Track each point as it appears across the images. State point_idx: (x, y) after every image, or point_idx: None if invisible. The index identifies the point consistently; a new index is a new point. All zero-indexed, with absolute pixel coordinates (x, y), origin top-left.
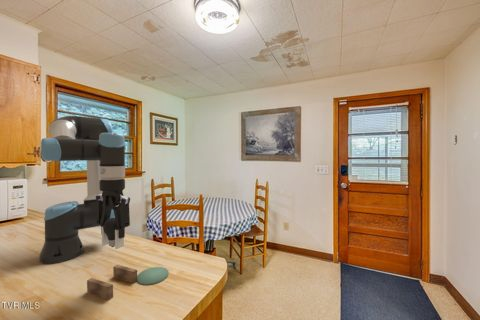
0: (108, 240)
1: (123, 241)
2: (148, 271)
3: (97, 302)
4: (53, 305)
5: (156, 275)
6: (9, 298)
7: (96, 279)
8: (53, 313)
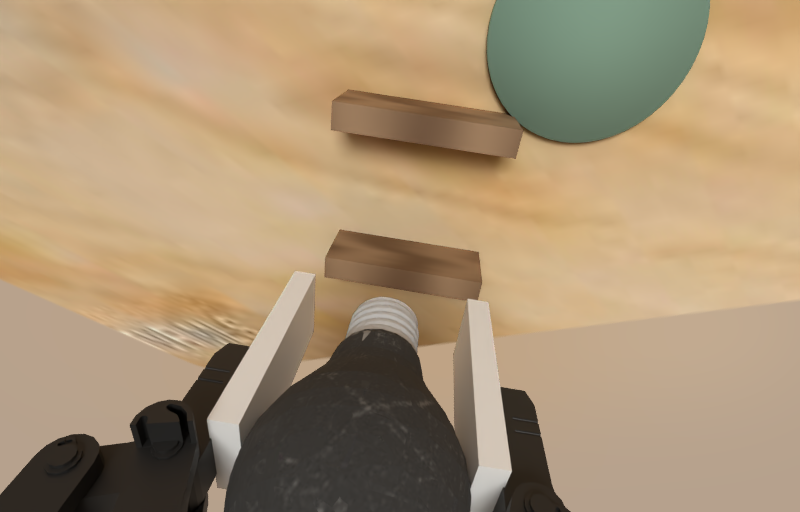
0: (304, 312)
1: (492, 335)
2: (539, 8)
3: None
4: None
5: (624, 43)
6: (111, 319)
7: (361, 263)
8: None
